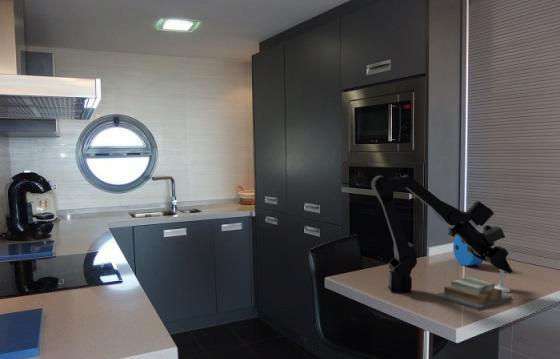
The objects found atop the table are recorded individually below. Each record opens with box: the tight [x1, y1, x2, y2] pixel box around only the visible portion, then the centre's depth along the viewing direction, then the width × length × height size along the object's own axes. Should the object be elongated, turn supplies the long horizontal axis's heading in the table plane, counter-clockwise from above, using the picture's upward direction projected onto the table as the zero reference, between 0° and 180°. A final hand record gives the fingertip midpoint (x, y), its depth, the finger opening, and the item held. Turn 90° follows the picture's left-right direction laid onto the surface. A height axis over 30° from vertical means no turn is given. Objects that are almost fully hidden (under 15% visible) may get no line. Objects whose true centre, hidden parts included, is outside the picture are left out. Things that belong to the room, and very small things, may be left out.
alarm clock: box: [452, 235, 485, 268], centre depth 179 cm, size 13×6×15 cm, turn 15°
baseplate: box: [433, 291, 512, 311], centre depth 138 cm, size 18×15×1 cm
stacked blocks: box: [443, 276, 503, 304], centre depth 138 cm, size 12×12×4 cm
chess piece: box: [494, 269, 511, 293], centre depth 145 cm, size 5×5×10 cm
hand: (504, 268), depth 145 cm, fingers open, 9 cm apart
